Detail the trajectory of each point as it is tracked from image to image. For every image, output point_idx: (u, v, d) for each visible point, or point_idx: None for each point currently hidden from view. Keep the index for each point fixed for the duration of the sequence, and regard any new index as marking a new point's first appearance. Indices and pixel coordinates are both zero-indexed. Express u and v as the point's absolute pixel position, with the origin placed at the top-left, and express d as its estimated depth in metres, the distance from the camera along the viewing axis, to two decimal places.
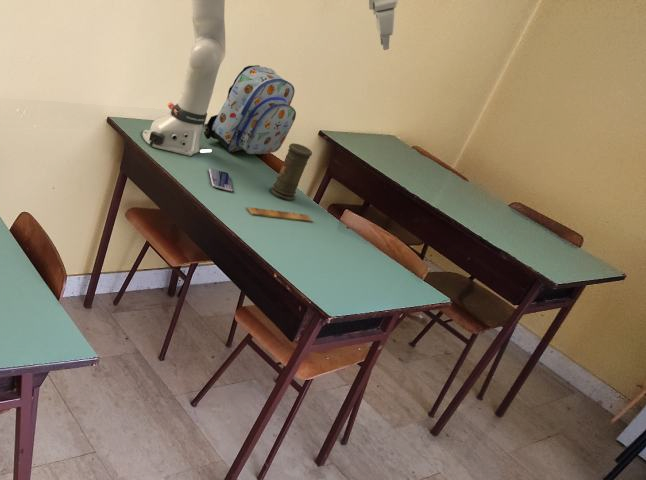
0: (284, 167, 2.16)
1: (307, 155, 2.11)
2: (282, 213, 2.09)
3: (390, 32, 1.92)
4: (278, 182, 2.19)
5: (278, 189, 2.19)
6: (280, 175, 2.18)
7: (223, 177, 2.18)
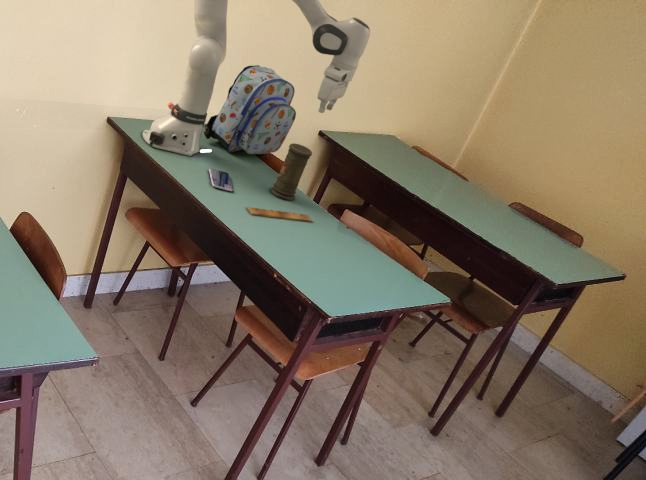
0: (284, 167, 2.16)
1: (307, 155, 2.11)
2: (282, 213, 2.09)
3: (324, 99, 2.07)
4: (278, 182, 2.19)
5: (278, 189, 2.19)
6: (280, 175, 2.18)
7: (223, 177, 2.18)
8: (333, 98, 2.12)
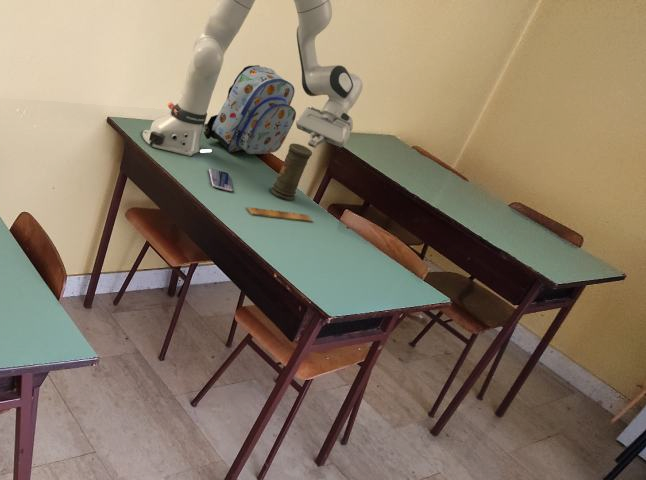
0: (284, 167, 2.16)
1: (307, 155, 2.11)
2: (282, 213, 2.09)
3: (343, 145, 2.21)
4: (278, 182, 2.19)
5: (278, 189, 2.19)
6: (280, 175, 2.18)
7: (223, 177, 2.18)
8: None
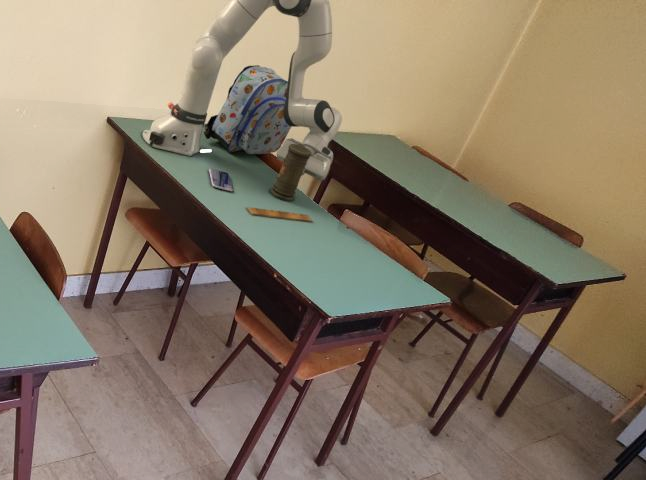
0: (283, 167, 2.15)
1: (306, 155, 2.10)
2: (282, 213, 2.09)
3: None
4: (277, 182, 2.19)
5: (277, 189, 2.19)
6: (279, 175, 2.17)
7: (223, 177, 2.18)
8: None
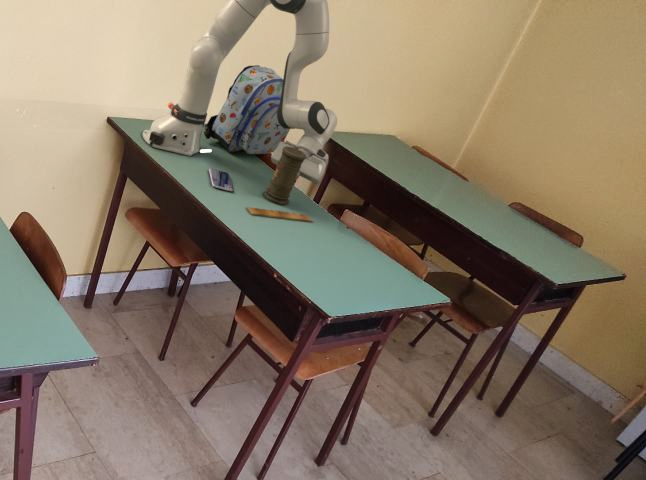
0: (277, 170, 2.11)
1: (300, 158, 2.06)
2: (282, 213, 2.09)
3: (319, 182, 2.18)
4: (271, 185, 2.14)
5: (271, 192, 2.15)
6: (273, 178, 2.13)
7: (223, 177, 2.18)
8: None
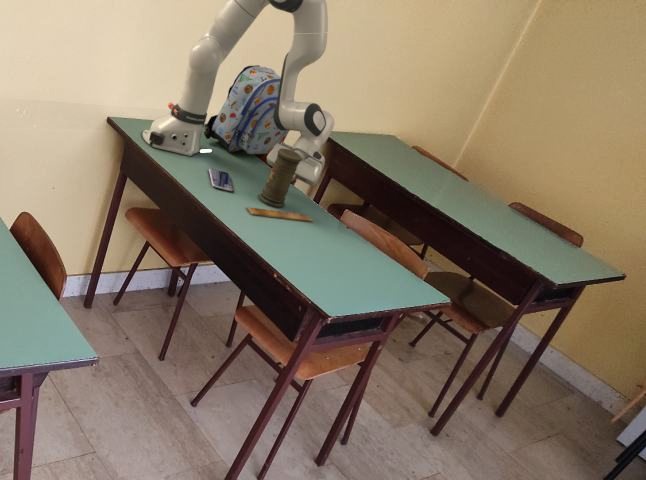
0: (272, 172, 2.08)
1: (295, 160, 2.03)
2: (282, 213, 2.09)
3: (315, 184, 2.15)
4: (266, 188, 2.11)
5: (266, 195, 2.12)
6: (268, 181, 2.10)
7: (223, 177, 2.18)
8: None
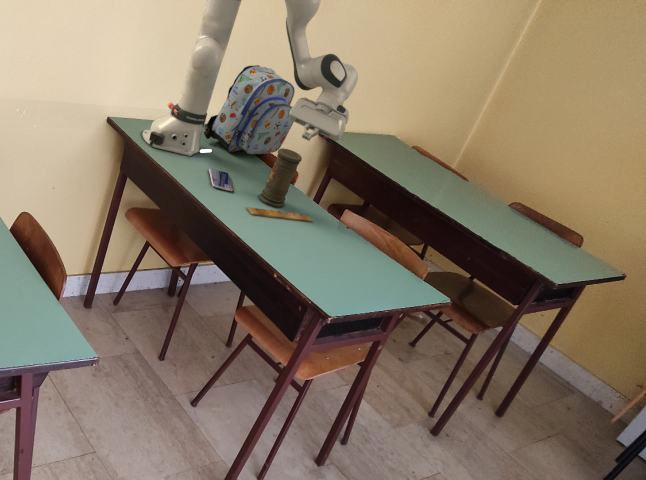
0: (272, 172, 2.08)
1: (296, 161, 2.03)
2: (282, 213, 2.09)
3: (339, 139, 2.11)
4: (266, 188, 2.11)
5: (266, 195, 2.11)
6: (268, 181, 2.10)
7: (223, 177, 2.18)
8: None
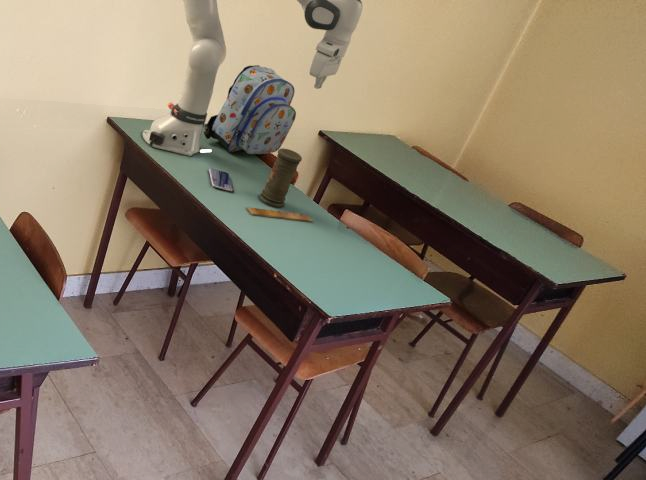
0: (272, 172, 2.08)
1: (296, 161, 2.03)
2: (282, 213, 2.09)
3: (316, 74, 2.04)
4: (266, 188, 2.11)
5: (266, 195, 2.11)
6: (268, 181, 2.10)
7: (223, 177, 2.18)
8: (325, 74, 2.10)
